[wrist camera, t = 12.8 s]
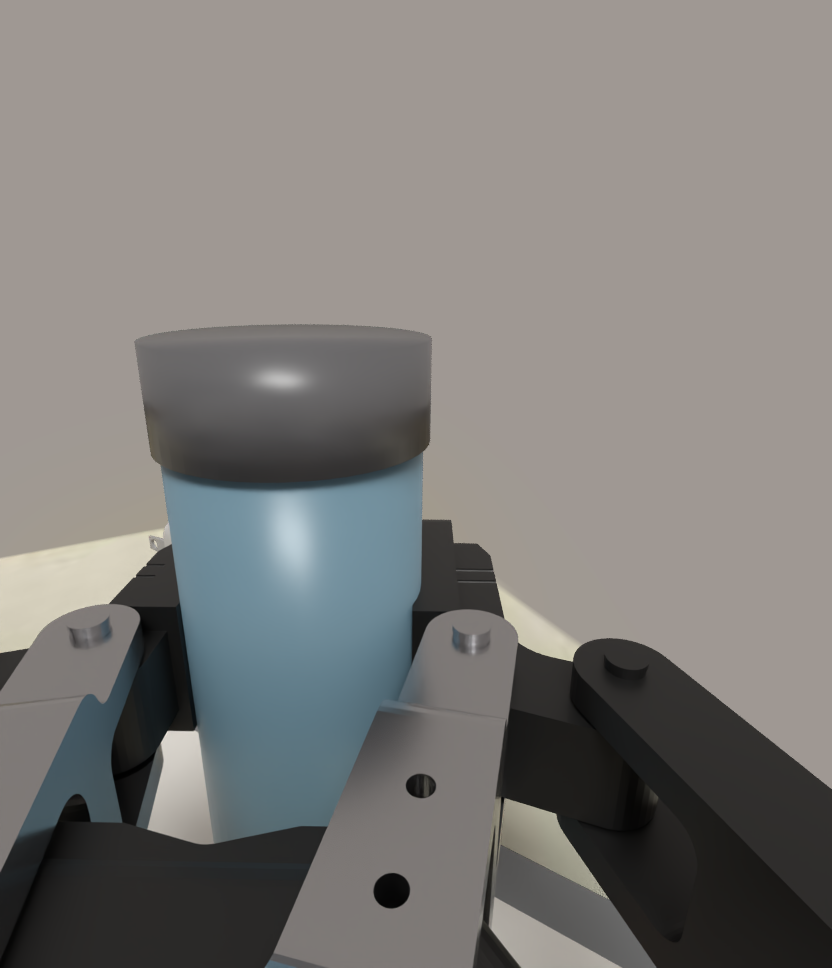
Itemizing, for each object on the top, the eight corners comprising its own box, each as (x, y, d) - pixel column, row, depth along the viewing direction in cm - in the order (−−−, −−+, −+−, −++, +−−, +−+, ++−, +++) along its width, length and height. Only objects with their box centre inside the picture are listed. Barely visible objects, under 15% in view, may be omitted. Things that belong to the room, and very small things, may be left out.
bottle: (184, 986, 11) (67, 341, 7) (314, 834, 15) (281, 320, 11) (345, 1123, 10) (305, 366, 6) (454, 916, 13) (479, 333, 9)
